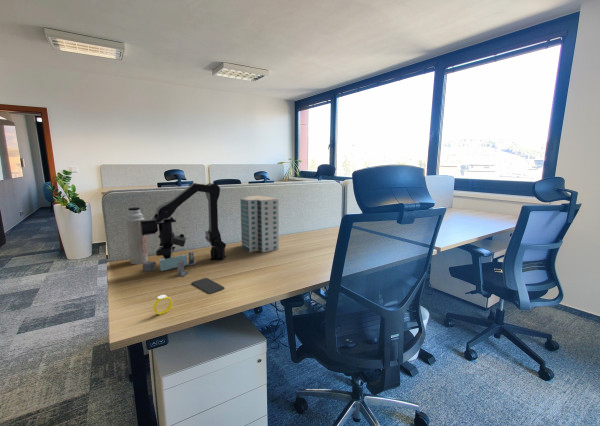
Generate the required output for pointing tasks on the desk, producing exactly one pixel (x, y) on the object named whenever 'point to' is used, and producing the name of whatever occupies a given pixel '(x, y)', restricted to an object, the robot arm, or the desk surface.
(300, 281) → the desk surface
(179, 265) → the grey block
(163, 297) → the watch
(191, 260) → the post
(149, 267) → the dark gray cube
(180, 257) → the light blue bar
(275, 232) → the building model
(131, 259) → the thermos bottle
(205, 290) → the phone
